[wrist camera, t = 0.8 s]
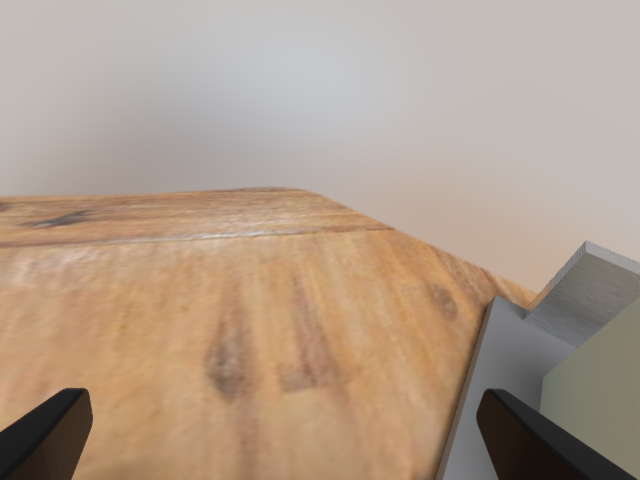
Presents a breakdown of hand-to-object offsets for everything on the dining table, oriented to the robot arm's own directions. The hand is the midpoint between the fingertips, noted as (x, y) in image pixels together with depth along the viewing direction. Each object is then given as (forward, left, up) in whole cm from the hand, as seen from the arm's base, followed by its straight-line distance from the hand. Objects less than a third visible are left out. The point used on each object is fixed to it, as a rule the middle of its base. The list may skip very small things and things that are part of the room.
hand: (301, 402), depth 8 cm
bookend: (-3, -26, -14) cm, 30 cm away
